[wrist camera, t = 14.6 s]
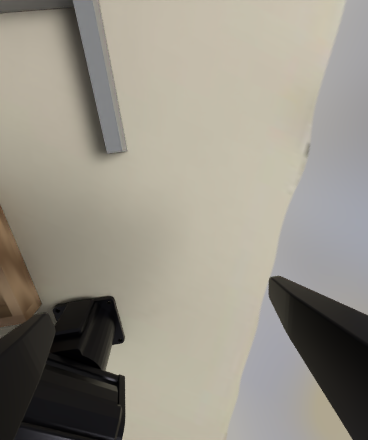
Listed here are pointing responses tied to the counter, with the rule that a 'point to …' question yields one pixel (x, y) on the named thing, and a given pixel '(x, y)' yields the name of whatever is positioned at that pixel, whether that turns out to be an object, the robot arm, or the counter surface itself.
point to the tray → (14, 281)
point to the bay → (89, 61)
